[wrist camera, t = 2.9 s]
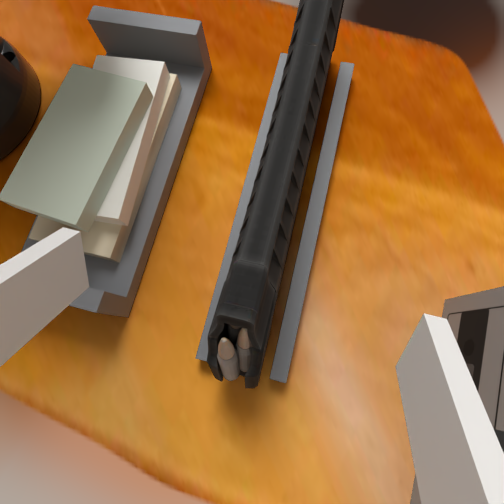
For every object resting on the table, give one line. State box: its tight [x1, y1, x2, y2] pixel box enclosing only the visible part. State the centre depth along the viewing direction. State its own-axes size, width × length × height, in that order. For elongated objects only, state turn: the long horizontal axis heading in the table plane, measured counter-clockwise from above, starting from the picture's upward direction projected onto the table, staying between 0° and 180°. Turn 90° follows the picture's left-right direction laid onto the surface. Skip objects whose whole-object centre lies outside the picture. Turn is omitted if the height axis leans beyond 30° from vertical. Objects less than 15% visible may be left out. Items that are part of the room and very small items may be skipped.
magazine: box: [207, 0, 344, 388], centre depth 24 cm, size 17×3×30 cm
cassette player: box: [410, 286, 504, 504], centre depth 19 cm, size 16×3×10 cm, turn 163°
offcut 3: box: [29, 73, 182, 263], centre depth 28 cm, size 7×17×2 cm, turn 166°
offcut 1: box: [0, 64, 153, 232], centre depth 25 cm, size 6×12×2 cm, turn 161°
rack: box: [0, 6, 354, 383], centre depth 27 cm, size 23×28×5 cm
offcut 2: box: [92, 55, 170, 226], centre depth 27 cm, size 6×14×2 cm, turn 170°
